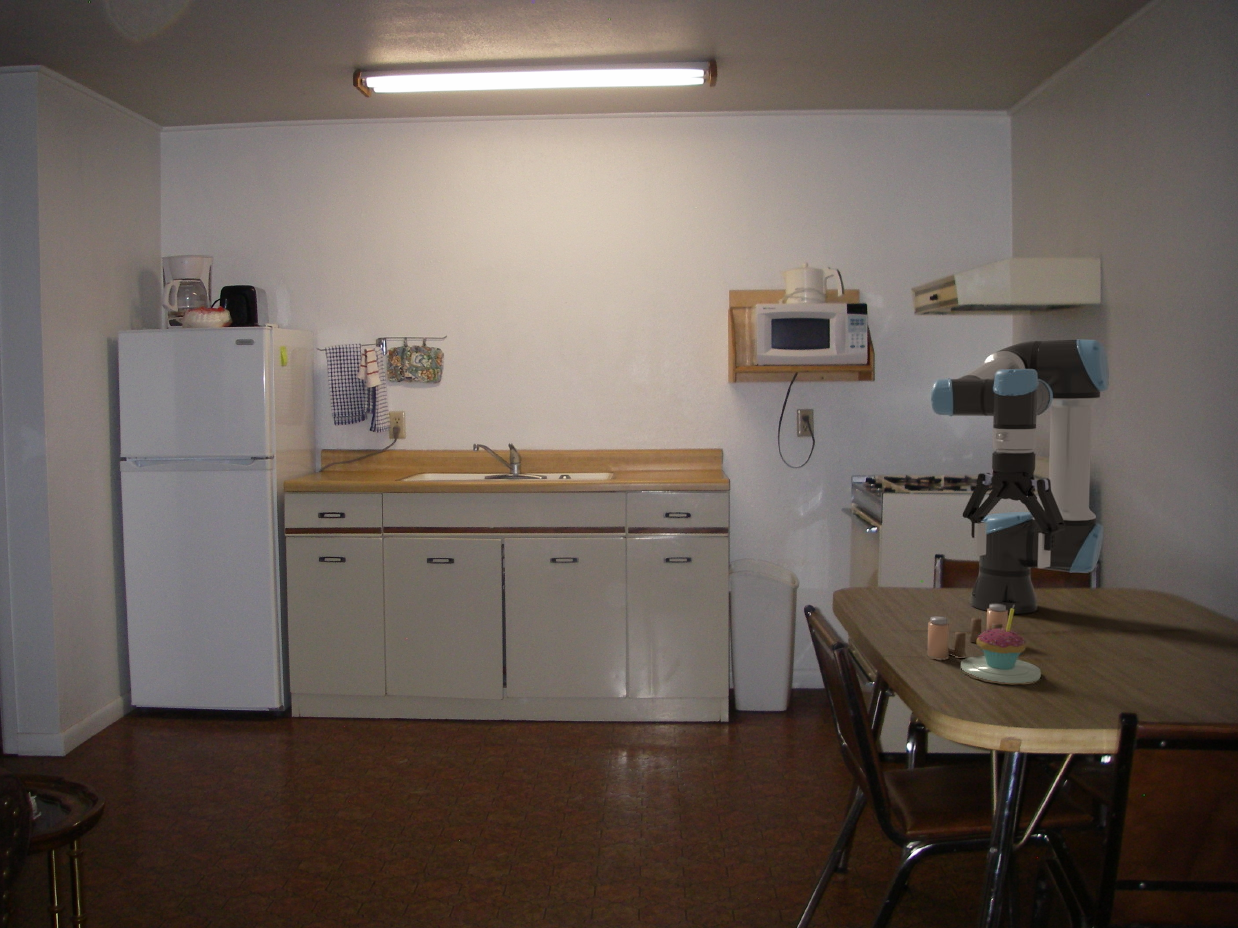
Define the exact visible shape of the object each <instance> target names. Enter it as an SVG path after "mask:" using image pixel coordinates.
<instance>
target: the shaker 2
mask: <svg viewBox="0 0 1238 928" xmlns="http://www.w3.org/2000/svg"><path fill="white" fill-rule="evenodd" d="M1008 618H1009V613H1008V611H1007V610H1006V606H1005V605H1002V604H990V605H989V608H988V609H987V611H986V630H989V629H992V624H993V623H1000V624H1002V625H1003V628H1007V624H1008Z"/></svg>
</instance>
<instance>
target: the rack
mask: <svg viewBox="0 0 1238 928" xmlns="http://www.w3.org/2000/svg"><path fill="white" fill-rule="evenodd" d="M982 622H983V621H982V618H979V617H972V618H971V622H970V624H971V625H970V637H969V642H970V641H971V642H970V643H972V642H975V643H974V644H977V638H978V635H979V634H981V633H982ZM995 628H996V629H999V628H1000V629H1001V628H1003V625H1002V624H1000V623H993V624H992V629H995ZM966 637H967V636H966V632H963V631H955V632H954V649H952V648H949V654H952V655H955V656H958V657H964V656H966V657H967V653H966Z"/></svg>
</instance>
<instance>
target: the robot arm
mask: <svg viewBox="0 0 1238 928" xmlns="http://www.w3.org/2000/svg"><path fill="white" fill-rule="evenodd" d="M1106 352H1107V351H1106V350H1105V347H1104V345H1103V344H1102V343H1101V341H1100V340H1096V339H1081V338H1077V339H1061V340H1060V339H1059V340H1058V339H1056V340H1032V341H1031V340H1030V341H1029V340H1028V341H1025V342H1020V343H1016V344H1013V345H1010V346H1007V347H1005V348H1004V347H1003V348H1001V349H1000V350H997V351H994V352H993V353H992V354H990V355H989V356H988V357H987V358H986V359H985V360H984V362H983V364H981V365H979V366H978V367H977V368H975V369H973V370H971V371H970V372H968V373H966V374H964V375H963V376H961V377H958V378H947V379H945V378H943V379H937V380H936V381H935V382H933V385H932V388H931V394H930V401H931V402H930V403H931V408H932V411H933V412H934V413H935V414H936V415H938V416H949V417H953V416H954V417H956V416H959V417H961V416H963V417H964V416H965V417H966V416H970V417H971V416H975V417H977V416H979V417H993V418H992V419H993V421H992V422H993V423H992V424H993V425H992V449H994V450H995V451H993V452H992V454H991V456H992V457H991V470H993V474H991V473H990V472H982V473H978V475H977V479H976V481H977V482H976V485H975V487H974V490H973V491H972V493H971V495H970V498H969V500H968V502H967V504H966V506H965V508H964V510H963V511H962V517H963V518H964V519H968V520H969V521H970V522H971V533H970V534H971V538H972V539H973V544H974V545H973V556H975V557H979V558H978V559H979V561H978V562H979V563H978V565H979V566H978V576H977V578H976V580H975V583H974V586H973V588H972V592H971V593H970V605H971V606H972V607H974V608H976V609H978V610H982V611H986V612H987V609H988V608H989V605H990V604H1002V605H1005V606H1006V610H1007V611H1008V614H1010V609H1011V608H1013V605H1015V606H1014V608H1013V609H1014V613H1013V615H1014V614H1015V615H1016V614H1017V615H1019V614H1021V615H1022V614H1030V613H1034V612H1036V611H1037V610H1038V598H1037V596H1036V593H1035V589H1034V584H1033V581H1032V579H1031V578H1032V577H1031V568H1033V569H1039V570H1040V569H1041V570H1043V569H1044V570H1051V571H1059V572H1067V573H1070V574H1072V573H1078V574H1079V573H1082V574H1089V573H1091V572H1092V571H1093V570H1094V569H1095V567H1096V565H1097V563H1098V560H1099V559H1100V554H1101V551H1102V545H1103V540H1104V526H1103V525H1102V524H1101V523H1097V516H1096V514H1095V513H1094V512H1093V511H1092V510H1091V509H1090V485H1091V484H1090V483H1091V482H1090V481H1091V479H1090V478H1091V456H1092V455H1091V452H1092V450H1091V449H1092V425H1093V424H1092V422H1093V420H1092V419H1093V406H1094V404H1095V403H1097V402H1098V401H1099V400H1101V392H1102V393H1103V392H1105V391H1107V390H1108V388H1109V385H1110V384H1109V379H1110V371H1109V363H1108V356H1107V353H1106ZM1049 408H1050V420H1049V421H1050V422H1049V423H1050V424H1049V425H1050V426H1049V431H1050V432H1049V457H1048V458H1049V459H1048V461H1049V462H1048V463H1049V465H1048V467H1049V469H1048V478H1047V477H1046V478H1041V479H1035V477H1034V473H1035V470H1036V456H1037V454H1036V453H1035V451H1034V450H1035V449H1036V448H1037V417H1038V416H1040V415H1041V414H1044V413H1045V412H1046V411H1047V410H1048V409H1049ZM991 484H992V485H993V487H994V488H993V489H992V490H991V491H990V492H989V494H988V496H987V498H986V499H985V500H984V498H985V495H986V494H987V493H988V490H989V488H990V485H991ZM1033 489H1034V490H1036V491H1037V495H1038V497H1039V500H1040V502H1039V500H1038V497H1037V495H1036V494H1035V492H1034V491H1033ZM983 500H984V501H983ZM1001 500H1012V501H1016V502H1017V501H1020V503H1021V504H1023V505H1024V506H1025V508H1026V509H1027V510H1028V511H1029V512H1027V511H1014V512H1013V511H1012V512H1011V511H1010V512H1001V513H994V514H993V513H992V514H990V512H992V510H993V509H994V507H996V506H997V504H998V503H999V502H1000V501H1001Z"/></svg>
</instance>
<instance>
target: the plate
mask: <svg viewBox="0 0 1238 928" xmlns="http://www.w3.org/2000/svg"><path fill="white" fill-rule="evenodd" d="M961 668H962V670H964V671H965V672H967V673H969V674H972V675H974V676H976V677H979V678H983V679H987V680H991V681H998V682H1005V683H1026V682H1033V681H1037V680H1039V679H1040V677H1041V675H1042V673H1041V669H1040V667H1038V666H1037V665H1034V664H1032V663H1030V662H1028V661H1024V660H1021V659H1017V661H1016V663H1015V666H1014V668H1012V669H996V668H993V667H990V666H988V665H987V662H986V658H985V655H977V656H971V657H966V658H965V659H961V662H960V669H961ZM1040 680H1041V679H1040ZM1040 680H1039V681H1040Z"/></svg>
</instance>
